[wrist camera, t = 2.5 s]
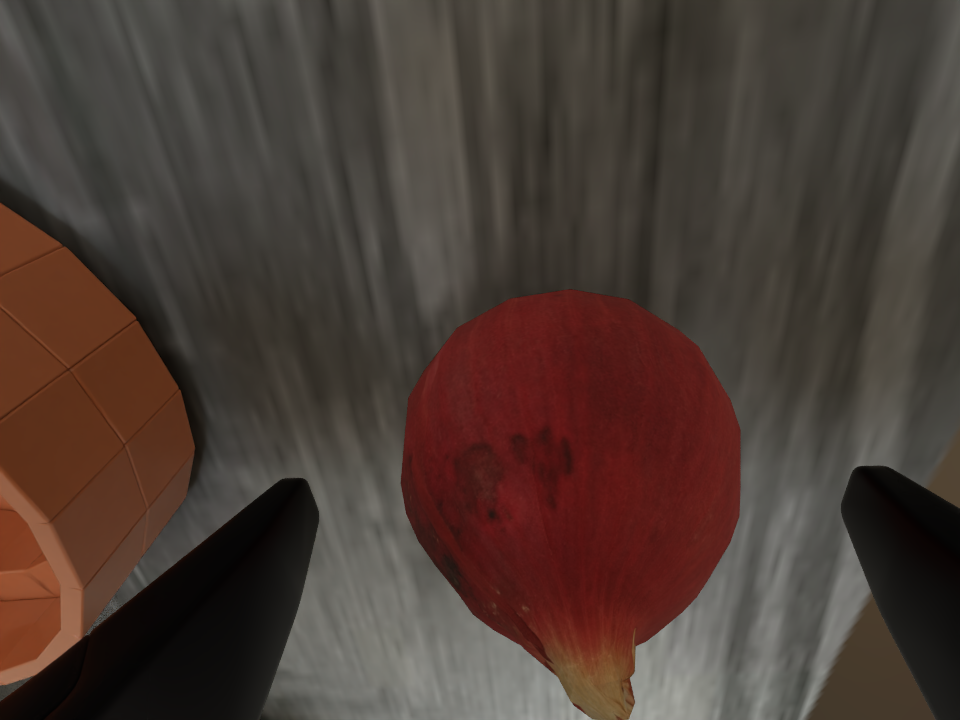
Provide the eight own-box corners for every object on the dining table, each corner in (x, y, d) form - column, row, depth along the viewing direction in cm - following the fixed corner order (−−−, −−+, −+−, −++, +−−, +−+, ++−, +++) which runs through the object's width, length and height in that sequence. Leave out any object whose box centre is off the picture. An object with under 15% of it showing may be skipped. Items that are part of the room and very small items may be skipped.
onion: (428, 422, 14) (335, 777, 8) (446, 213, 11) (314, 495, 4) (641, 454, 14) (739, 838, 8) (718, 252, 11) (1004, 598, 4)
